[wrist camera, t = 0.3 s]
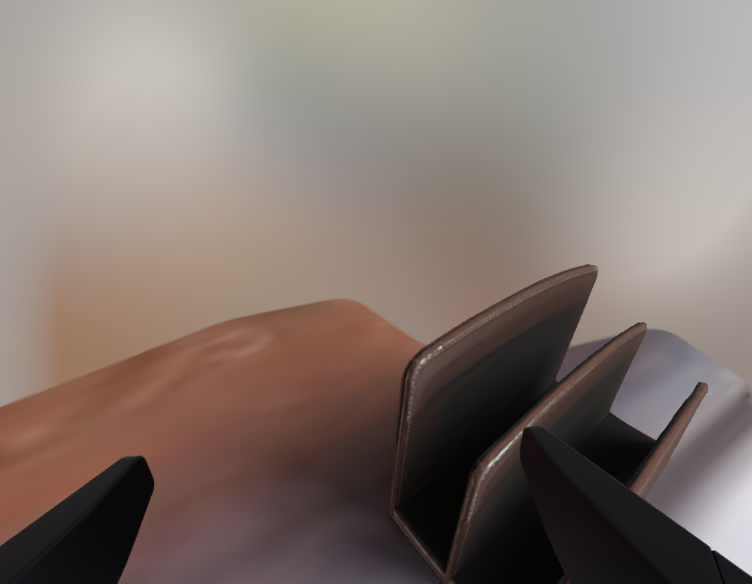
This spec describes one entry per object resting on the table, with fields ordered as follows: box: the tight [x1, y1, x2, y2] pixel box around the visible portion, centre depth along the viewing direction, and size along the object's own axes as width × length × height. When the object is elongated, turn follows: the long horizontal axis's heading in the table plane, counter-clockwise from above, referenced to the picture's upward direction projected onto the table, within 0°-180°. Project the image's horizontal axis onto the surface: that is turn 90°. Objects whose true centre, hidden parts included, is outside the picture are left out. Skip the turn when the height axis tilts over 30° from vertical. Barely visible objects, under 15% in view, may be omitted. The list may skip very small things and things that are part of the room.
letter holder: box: [389, 264, 708, 584], centre depth 22 cm, size 10×20×14 cm, turn 128°
